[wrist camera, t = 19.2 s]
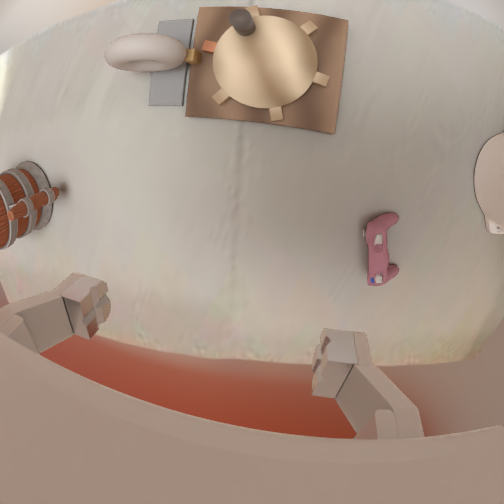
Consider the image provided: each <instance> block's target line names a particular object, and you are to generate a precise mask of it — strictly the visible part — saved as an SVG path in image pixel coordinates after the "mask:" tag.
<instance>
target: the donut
mask: <svg viewBox="0 0 504 504" xmlns="http://www.w3.org/2000/svg"><path fill="white" fill-rule="evenodd" d="M186 55H187V50H186V48H185V46H184V45H183V43H182V42H181V41H179V40H177V39H175V38H173V37H170V36H167V35H162V34H155V33H138V34H131V35H126V36H123V37H120V38H118V39H116V40H114V41H113V42H111V44H110V45H109V46H108V48H107V49H106V52H105V58H106V61H107V63H108V64H109V65H110V66H112V67H114V68H117V69H120V70H126V71H139V72H151V71H165V70H170V69H173V68H175V67H178V66H179V65H181V64H182V63H183V61H184V59H185V58H186Z"/></svg>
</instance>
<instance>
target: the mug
mask: <svg viewBox="0 0 504 504" xmlns="http://www.w3.org/2000/svg"><path fill="white" fill-rule="evenodd" d="M58 195H59V190H58V189H57V188H56V187H53V188H50V187H49V183H48V181H47V179H46V177H45V175H44V173H43V172H42V171H41V170H40V168H39V167H38V166H36V165H35V164H34V163H32V162H27V161H26V162H22V163H21V164H19V165H18V166H17V167H16V168H15V169H9V170H6V171H4V172H2V173H0V250H4V249H6V248H7V247H9V246H10V245H12V244H13V243H14V241H15V240H16V238H23V237H24V236H26V235H28V234H29V233H30V232H32V230H33V229H34V230H38V229H42V228H43V227H45V225H46V224H47V223H48V221H49V219H50V215H51V209H52V203H53V202H54V201H55V200H56V199H57V197H58Z"/></svg>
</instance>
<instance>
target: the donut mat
mask: <svg viewBox="0 0 504 504" xmlns="http://www.w3.org/2000/svg"><path fill="white" fill-rule="evenodd" d="M193 24H194V19H180V20H169V21H159V25H158V31H157V34H162V35H167V36H170V37H173V38H175V39H177V40H179V41H181V42H182V43H183V45H184V46H185V48H186V49H190V44H191V37H192V30H193ZM187 66H188V63H187V62H185V61H183V63H182V64H181V65H179V66H178V67H175V68H173V69H170V70H165V71H152V74H151V83H150V93H149V105H180V106H183V101H184V92H185V82H186V74H187Z"/></svg>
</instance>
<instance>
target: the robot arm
mask: <svg viewBox="0 0 504 504" xmlns="http://www.w3.org/2000/svg"><path fill="white" fill-rule="evenodd" d="M474 185H475V193H476V197H477V201H478V203H479V205H480V207H481V209H482V211H483V213H484V215H485V222H486V228H487V231H488V232H490V233H492V234H504V132H503V133H501V134H498V135H496V136H494V137H492V138H491V139H489V140H488V141H487V143H486V144H485V145H484V146H483V148H482V150H481V152H480V154H479V156H478V159H477V163H476V167H475V175H474ZM497 226H498V227H497ZM107 291H108V288H107V283H105V282H104V281H102V280H99V279H96V278H92V277H89V276H86V275H83V274H79V273H72V274H71V275H70V276H69V277H67V278H66V279H65V280H64V281H63V282H62V283H61V284H59V285H58V286H57V287H56V288H55V289H54V290H53V291H52V292H45V293H42V294H39V295H36V296H33V297H30V298H27V299H24V300H21V301H17V302H14V303H11V304H9V305H6V306H3V307H2V308H1V309H0V504H504V425H499V426H494V427H489V428H484V429H479V430H473V431H468V432H462V433H455V434H448V435H441V436H430V437H424V433H423V428H422V424H421V419H420V415H419V411H418V408H417V407H416V406H415V405H414V404H413V403H412V402H411V401H410V400H409V399H408V398H407V397H406V396H405V395H404V394H403V393H402V392H401V391H400V390H399V389H398V387H397V386H395V385H394V384H393V382H392V381H391V380H390V379H389V378H388V377H387V376H386V375H385V374H384V373H383V372H382V371H381V370H380V369H379V368H378V367H377V366H373V362H372V358H371V353H370V348H369V344H368V339H367V335H366V334H365V333H362V332H353V331H352V332H350V331H342V330H335V329H328V328H324V329H323V331H322V333H321V336H320V344H318V345H317V346H316V349H315V352H314V357H313V363H312V371H313V372H314V374H315V375H314V377H313V379H312V395H315V396H323V397H331V398H335V400H336V402H337V403H338V405H339V406H340V408H341V409H342V411H343V413H344V414H345V416H346V417H347V419H348V420H349V422H350V424H351V425H352V427H353V428H354V430H355V432H356V433H357V435H356V436H355V437H354V439H337V438H322V437H309V436H300V435H290V434H283V433H275V432H269V431H262V430H256V429H251V428H245V427H240V426H235V425H230V424H225V423H220V422H216V421H212V420H208V419H203V418H199V417H196V416H192V415H188V414H184V413H181V412H177V411H174V410H170V409H167V408H164V407H161V406H158V405H154V404H151V403H149V402H146V401H143V400H140V399H137V398H134V397H132V396H129V395H126V394H124V393H121V392H118V391H116V390H113V389H111V388H108V387H106V386H103V385H101V384H99V383H96V382H94V381H92V380H89V379H87V378H85V377H83V376H81V375H78V374H76V373H74V372H72V371H70V370H68V369H66V368H64V367H62V366H60V365H58V364H56V363H54V362H52V361H50V360H48V359H46V358H45V357H42V356H41V355H39V354H40V353H41V352H43V351H45V350H47V349H49V348H51V347H52V346H54V345H56V344H58V343H60V342H61V341H63V340H65V339H67V338H69V337H71V336H73V335H74V334H76V335H78V336H81V337H84V338H86V339H89V340H90V339H91V338H92V337H93V336H94V335H95V333H96V332H97V331H98V330H99V326H98V325H99V324H101V323H104V322H105V321H106V319H107V318H108V316H109V313H110V308H111V304H110V300H109V298H108V297H107V295H106V293H107Z"/></svg>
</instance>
